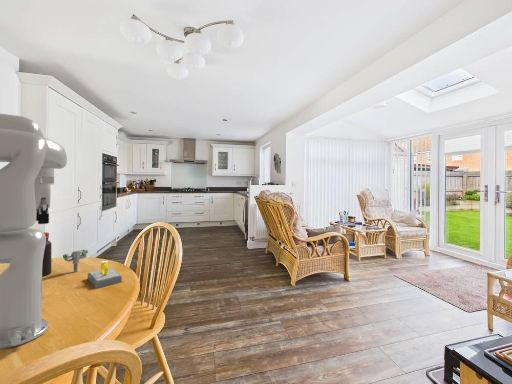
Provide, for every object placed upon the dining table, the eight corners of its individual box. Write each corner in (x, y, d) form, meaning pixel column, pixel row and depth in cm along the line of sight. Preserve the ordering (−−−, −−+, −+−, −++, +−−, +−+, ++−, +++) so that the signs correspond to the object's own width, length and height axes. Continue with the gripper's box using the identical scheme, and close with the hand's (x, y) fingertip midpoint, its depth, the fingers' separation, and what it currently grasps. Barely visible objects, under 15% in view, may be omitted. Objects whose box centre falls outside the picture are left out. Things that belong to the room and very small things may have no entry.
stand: (121, 281, 109) (121, 275, 109) (96, 288, 102) (96, 281, 101) (111, 273, 118) (111, 267, 118) (87, 278, 111) (87, 272, 111)
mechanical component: (62, 274, 115) (62, 254, 115) (85, 268, 124) (85, 249, 124) (65, 275, 114) (65, 255, 113) (88, 269, 123) (88, 250, 122)
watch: (99, 273, 111) (99, 260, 111) (106, 272, 113) (106, 259, 113) (102, 276, 107) (102, 263, 107) (109, 275, 109) (109, 261, 109)
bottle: (35, 273, 116) (35, 232, 115) (53, 271, 119) (53, 231, 118) (29, 278, 110) (29, 235, 109) (48, 276, 112) (48, 234, 112)
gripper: (27, 180, 101) (27, 220, 101) (31, 180, 89) (31, 226, 90) (50, 180, 106) (50, 218, 107) (57, 181, 95) (57, 224, 95)
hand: (42, 222), depth 98 cm, fingers open, 9 cm apart
